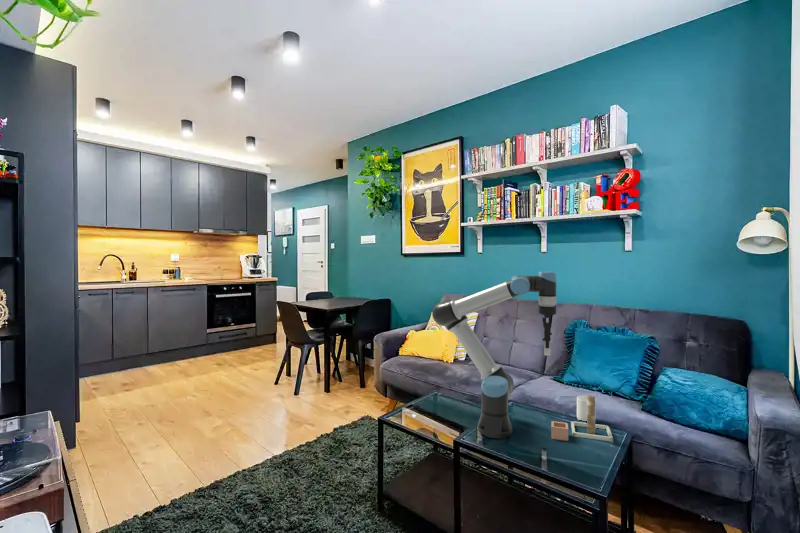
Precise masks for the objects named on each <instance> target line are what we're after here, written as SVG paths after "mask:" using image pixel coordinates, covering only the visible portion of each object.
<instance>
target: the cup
mask: <svg viewBox="0 0 800 533" xmlns="http://www.w3.org/2000/svg"><path fill="white" fill-rule="evenodd" d="M587 396H588V395H578V396H576V419H577V420H578V421H579V420H582V421H587ZM596 400H597V399H596V398H595V421H596V420H597V419H596V418H597V417H596V416H597V413H596V412H597V402H596ZM582 421H581V422H582Z"/></svg>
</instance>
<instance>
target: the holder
mask: <svg viewBox="0 0 800 533" xmlns="http://www.w3.org/2000/svg"><path fill="white" fill-rule="evenodd" d="M550 425H551V429H550V433H551V440H556V441H557V440H558V441H566V442H568V441H569V424H568V423H567V422H563V421H554V420H551V421H550Z"/></svg>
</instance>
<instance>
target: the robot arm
mask: <svg viewBox="0 0 800 533" xmlns="http://www.w3.org/2000/svg"><path fill="white" fill-rule="evenodd" d="M527 293H538V305H539V306H538V314H539V315H544V317H542V323H543V324H542V325H543V326H542V327H543V329H544V330H543V331H544V333H543V334H544V335H543V338H542V341H543V356H547V357H549V356H550V357H551V356H552V355H551V353H552V351H551V349H552V348H551V346H552V344H551V340H552V339H551V336H552V334H553V333H552V332H551V329H552V323H553V318H552V317H551V316H554V315H557V306H556V305H557V301H558V298H557V274H556V272H554V271H539V272H538V275H520V274H519V275H513V276H511V279H510V280H507V281H505V282H501V283H499V284H496V285H494V286H491V287H489V288H486V289H484V290H481V291H478V292H475V293H472V294H470V295H468V296H465V297H461V298H460V299H458V300H455V299H446V300H445V301H441V302H438V303H437V304H435V306H434V307H433V309H432V314H431V315H432V319H433V321H434V323H436V324H437V325H439V326H440V327H441V326H442V327H445V328H446V330H447V331H448V332H451V333H452V334H454V336H455V337H456V338H457V341H458V342H459V343H460V345H461V346H462V348H463V350H464V351H465V353H466V354H467V355H468V357H469V359H471V361H472V362H473V364H474V365H475V367H476V369H477V370H478V372H479V373H480V380H481V385H480V390H481V398H480V400H481V404H480V405H481V406H480V407H481V408H480V409H481V411H480V412H481V413H480V417H479V418H478V423H477V432H478V431H479V432H480V433H481V434H483V435H485V436H484V437H486V436H487V437H486V438H490V439H496V440H497V439H498V440H499V439H507V438H509V437H511V435H512V433H513V426H512V422H511V420H510V417H509V398H510V397H511V395H512V393H513V391H514V388H515V386H514V385H515V382H514V379H513V377H512V376H511V375H510V373H509V372H507V371H505V369H503V367H502V365H500V364H497V363H496V362H495V360H493V358H492V356H491V355H490V353H489V352H488V351H487V349H486V348H485V346H484V345H483V344H482V342H481V340H480V339H479V338H478V336H477V334H476V333H475V332H474V330H473V329H472V327H471V326H470V324H469V323H468V319H469V318H468V316H467V315H468V314H469V315H470V314H472V313H474V312H478V311H480V310H483V309H485V308H489V307H491V306H494V305H497V304H499V303H502V302H505V301H507V300H509V299H512V298H515V297H518V296H522V295H525V294H527ZM479 432H478V433H479ZM480 433H479V434H480ZM481 434H480V435H481ZM483 435H482V436H483Z"/></svg>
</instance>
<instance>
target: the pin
mask: <svg viewBox="0 0 800 533" xmlns="http://www.w3.org/2000/svg"><path fill="white" fill-rule="evenodd" d="M586 396H587V427H586V434H593V435H596V428H595V424H596V420H595V399H596V396H595V395H592V394H591V395H586Z"/></svg>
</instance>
